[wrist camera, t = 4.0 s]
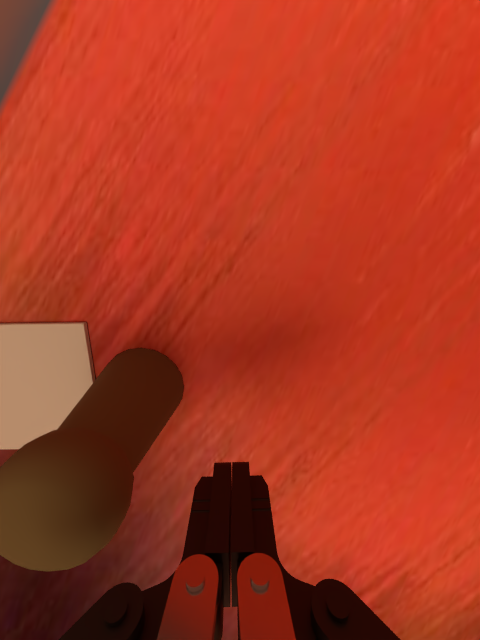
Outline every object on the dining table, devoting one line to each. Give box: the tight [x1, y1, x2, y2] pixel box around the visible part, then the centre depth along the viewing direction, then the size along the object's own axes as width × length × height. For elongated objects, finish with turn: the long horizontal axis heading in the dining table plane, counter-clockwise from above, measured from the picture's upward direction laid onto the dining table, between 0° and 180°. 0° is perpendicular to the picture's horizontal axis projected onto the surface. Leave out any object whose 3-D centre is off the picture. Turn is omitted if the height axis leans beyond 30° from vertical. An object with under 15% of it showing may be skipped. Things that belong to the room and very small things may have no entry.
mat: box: [0, 322, 96, 449], centre depth 19 cm, size 8×10×1 cm
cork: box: [0, 348, 184, 571], centre depth 14 cm, size 6×6×11 cm
